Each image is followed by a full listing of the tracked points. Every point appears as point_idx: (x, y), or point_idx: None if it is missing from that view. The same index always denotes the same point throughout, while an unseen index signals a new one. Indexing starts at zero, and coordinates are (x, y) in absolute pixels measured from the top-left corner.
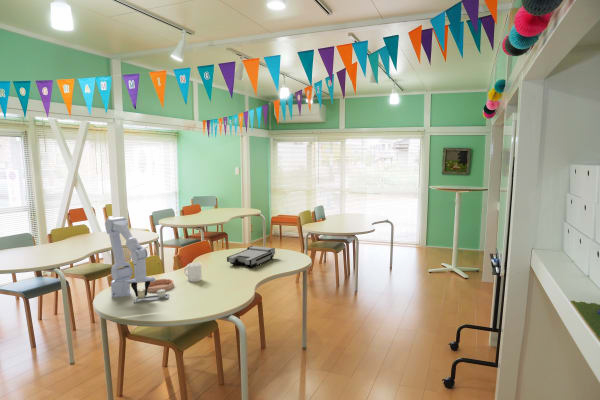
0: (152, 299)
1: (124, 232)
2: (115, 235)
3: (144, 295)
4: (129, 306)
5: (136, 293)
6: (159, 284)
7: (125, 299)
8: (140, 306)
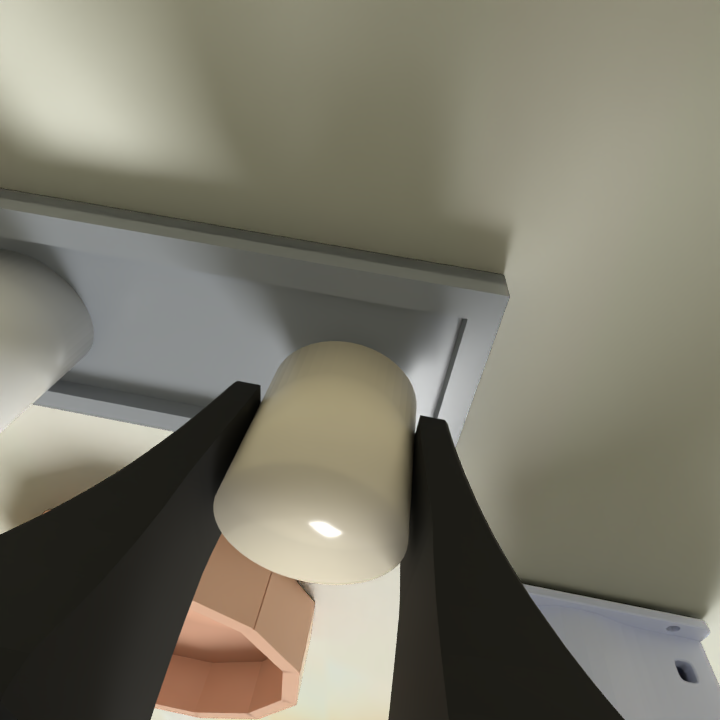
0: (145, 258)
1: None
2: None
3: (272, 387)
4: (616, 197)
5: (435, 468)
6: (187, 649)
7: (568, 520)
8: (394, 59)
